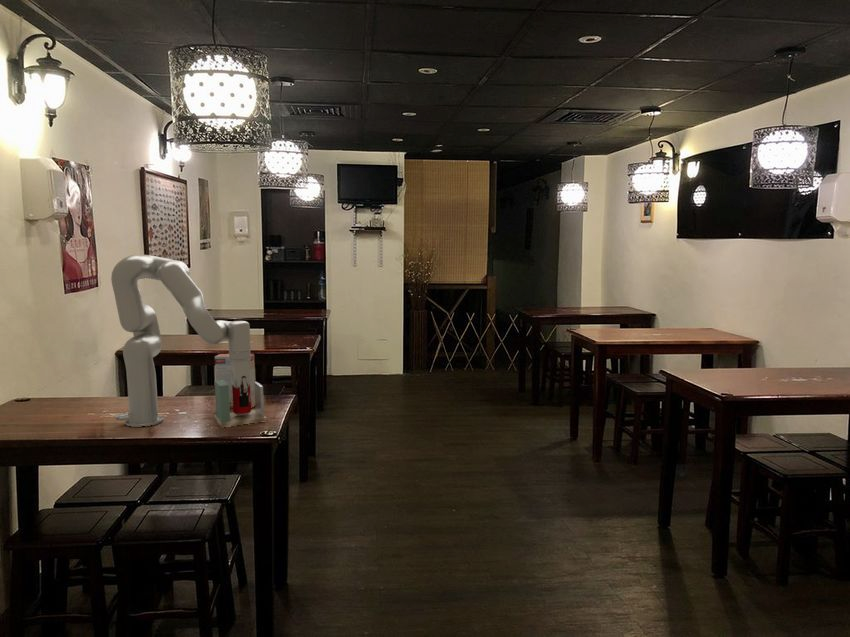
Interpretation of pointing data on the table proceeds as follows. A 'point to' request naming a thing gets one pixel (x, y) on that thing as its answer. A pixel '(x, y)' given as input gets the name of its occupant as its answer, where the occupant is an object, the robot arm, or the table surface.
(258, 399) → the grey metal plate
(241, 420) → the shelf board
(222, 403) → the grey green slab
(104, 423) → the table surface
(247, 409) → the beverage can
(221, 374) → the cracker box
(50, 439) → the table surface
